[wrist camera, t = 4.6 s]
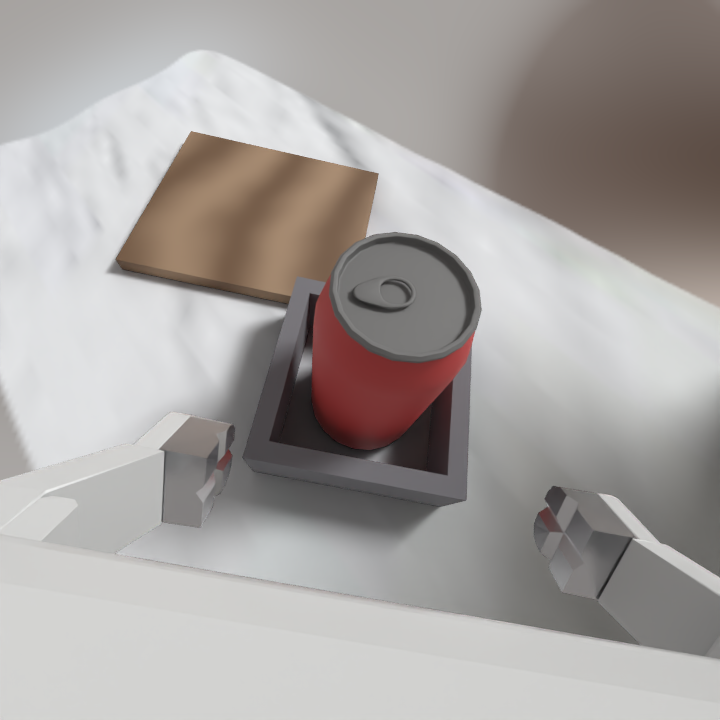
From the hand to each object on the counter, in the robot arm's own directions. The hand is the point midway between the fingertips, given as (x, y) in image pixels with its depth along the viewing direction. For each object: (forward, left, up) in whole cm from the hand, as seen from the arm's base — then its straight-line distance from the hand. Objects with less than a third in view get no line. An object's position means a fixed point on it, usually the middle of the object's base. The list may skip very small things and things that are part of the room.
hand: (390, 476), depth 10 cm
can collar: (0, -7, -13) cm, 15 cm away
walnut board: (+10, -20, -13) cm, 26 cm away
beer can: (0, -7, -13) cm, 15 cm away
